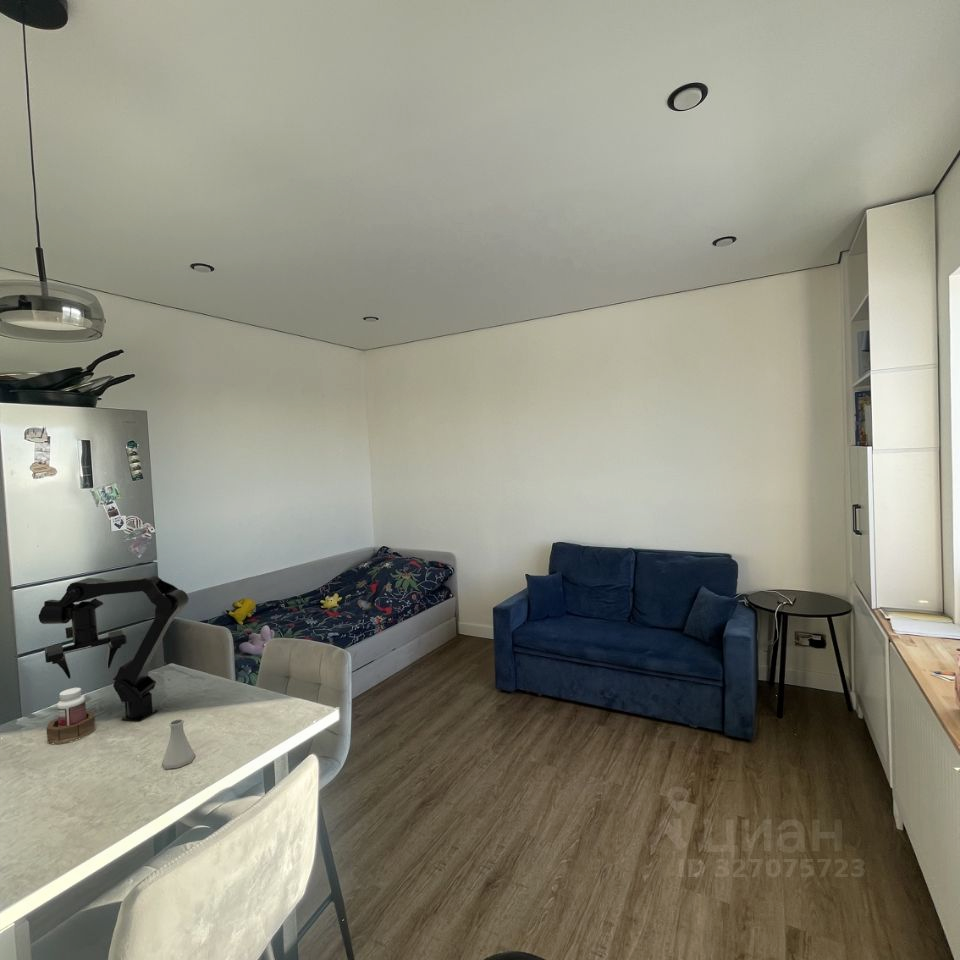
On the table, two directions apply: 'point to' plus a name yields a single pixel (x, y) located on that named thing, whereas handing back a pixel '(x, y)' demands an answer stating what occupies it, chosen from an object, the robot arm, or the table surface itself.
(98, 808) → the table surface
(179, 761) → the flask
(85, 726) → the bottle holder
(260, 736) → the table surface
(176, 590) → the robot arm
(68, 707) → the pill bottle
